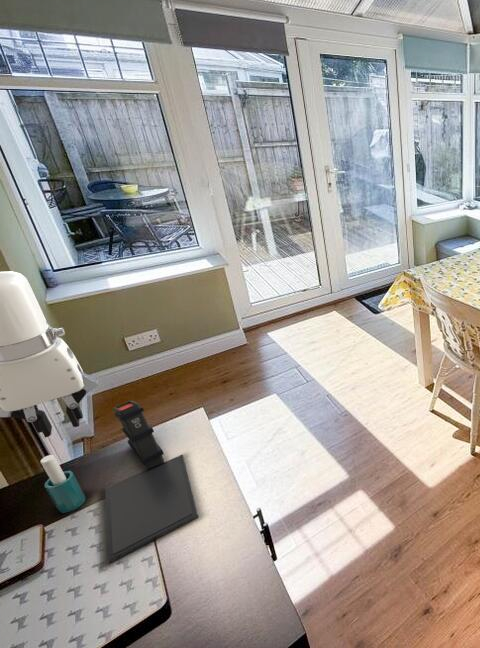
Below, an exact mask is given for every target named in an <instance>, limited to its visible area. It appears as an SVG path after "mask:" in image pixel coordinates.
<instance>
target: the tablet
mask: <svg viewBox="0 0 480 648" xmlns="http://www.w3.org/2000/svg"><path fill="white" fill-rule="evenodd" d="M104 495H105V519H106V521H105V522H106V540H107V541H106V542H107V561H108V563H109V564H112V563H114V562H116V561H117V560H119V559H121V558H124V557H126V556H127V555H129V554H131V553H133V552H135V551H137V550H139V549H142V548H143V547H145V546H147V545H148V544H150V543H152V542H154V541H156V540H158V539H160V538H161V537H164V536H166V535H167V534H170V533H171V532H174V531H175V530H177V529H179V528H181V527H183V526H185V525H187V524H189V523H191V522H193V521H194V520H196V519H198V518H199V513H198V509H197V505H196V500H195V497H194V493H193V489H192V485H191V481H190V477H189V473H188V469H187V465H186V461H185V458H184V454H180V455H178V456H175V457H174V458H171V459H168V460H166V461H164V463H162V464H159V465H157V466H155V467H153V468H150V469H148V470H147V469H145V470H144V471H143V470H142V471H141V472H139V473H137V474H134V475H132V476H130V477H127V478H125V479H122V480H120V481H118V482H116V483H113V484H112V485H109V486H106V487H105V488H104Z"/></svg>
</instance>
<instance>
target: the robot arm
mask: <svg viewBox="0 0 480 648" xmlns="http://www.w3.org/2000/svg"><path fill="white" fill-rule="evenodd" d="M65 335H66V332H65V329H64V327H59V328H56V327H55V328H53V327H51V325H50V324H49V323H48V321H47V319H46V317H45V315H44V312H43V309H42V308H41V306H40V304H39V301H38V299H37V297H36V295H35V293H34V290H33V288H32V286H31V284H30V282H29V280H28V278H27V277H26V276H25V275H23V274H21V273H19V272H16V271H0V418H12V419H13V418H14V419H20V420H26V421H27V423H32V425H33V427H34V429H35V431H36V433H37V434H40V433H42V435H43V437H44V438H46V439H47V438H48V437H50V436H52V430H53V426H52V423H51V421H50V420H49V418H48V416H47V413H46V411H45V410H43V409H39V406H38V405H40V404H44V403H47V402H50V401H54V400H56V399H60V398H61V399H62V400H63V402H64V404H66V405H65V407H66V409H65V412H66V415H67V417H68V419H69V421H70V423H71V425H72V427H73V428H79V427H80V420H81V419H83V418H84V414H83V412H82V409H81V407H80V405H79V404H80V402H81V401H82V400H83V399H84V398H85V396H87V394H88V393H90V392H91V391H93V390H94V389H95V388H97V387H98V386H99V380H98V379H96V378H94V377H93V376H91V375H89V374H88V373H85V372H84V371H83V368H82V367H81V364H80V363H79V361H78V359H77V358H76V355H75V353H74V352H73V351H72V349H71V348H70V347H69V345H68V344H67V343H66V342H65V341H64V339H63V338H61V337H63V336H65Z"/></svg>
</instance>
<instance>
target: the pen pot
mask: <svg viewBox="0 0 480 648" xmlns="http://www.w3.org/2000/svg"><path fill="white" fill-rule="evenodd" d="M63 473H64V475H65V476H66V478H67V480H66V481H64V482H63V483H61V484H59V485H56V486H54V485H53V483H52V481H51V480H50V478H49V477H48V479H47V480H46V482H44V488H45V490H46V492H47V494H48V496H49V497H50V499H51V500H52V503H53V504H54V505H55V507H56V509H57V510H58V511H59V513H62V514H66V513H70V512H73V511H75V510H77V509H78V508H79V507H81V506H82V505H83V504H84V503H85V502H86V499H87V497H86V494H85V493H84V490H83V489H82V487H81V485H80V483H79V481H78V479H77V478H76V476H75V474H74V472H73V471H71V470H65V471H63Z"/></svg>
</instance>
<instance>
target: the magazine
mask: <svg viewBox="0 0 480 648" xmlns="http://www.w3.org/2000/svg"><path fill="white" fill-rule="evenodd" d="M113 409H114V411H115V412H114V413H113V415H114V417H116V418H117V419H118V420H119V422H120V423H121V426H122V428H121V431H122V432H123V433H124V435H125V436H126V437H127V439H128V440H127V441H126V442H127V444H128V445H129V447H130V448H131V450H132V452H133V453H134V454H135V456H136V458H137V459H138V460H139V462H140V463H141V465H142V466H143V467H144V468H145V470H148V469H150V468H153V467H155V466H157V465H159V464H162V463H164V462H165V460H164V457H163V455H164V454H165V453H164V451H163V448H161V447H160V445H159V444H158V443H157V441H156V438H155V436H154V434H153V433H154V432H155V430H154V428H153V427H152V426H151V425H150V424H149V423H148V421H147V419H146V417H145V415H144V413H143V412H144V411H145V409H144V407H143V406H140V404H139V402H136V401H133V400H129V401H127V402H125V403H122V404H119V405H117V406H115V407H113Z"/></svg>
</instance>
